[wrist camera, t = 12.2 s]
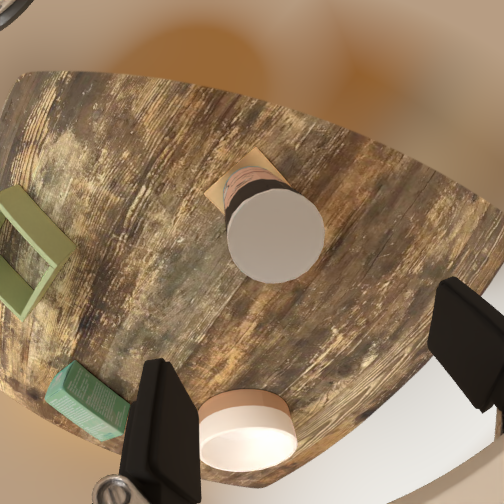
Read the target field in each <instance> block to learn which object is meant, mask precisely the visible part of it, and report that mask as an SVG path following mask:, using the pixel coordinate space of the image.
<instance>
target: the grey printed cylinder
mask: <svg viewBox="0 0 504 504" xmlns="http://www.w3.org/2000/svg"><path fill="white" fill-rule="evenodd" d="M223 203H224V213H225V222H226V232H227V241H228V248H229V251H230V254H231V257H232V259H233V261H234V263H235V264H236V265H237V266H238V268H239V269H240V270H241V272H243V273H244V274H246V275H247V276H249V277H250V278H252V279H254V280H257V281H261V282H265V283H283V282H286V281H289V280H292V279H296V278H297V277H299V276H300V275H302V274H303V273H305V272H306V271H308V270H309V269H310V267H311V266H312V265H313V264H314V263H315V262H316V260H317V259H318V257H319V255H320V253H321V250H322V248H323V245H324V237H325V229H324V224H323V219H322V217H321V215H320V213H319V212H318V210H317V208H316V207H315V205H314V204H312V203H311V202H310V201H309V200H308V199H306V198H305V197H304V196H303V195H301V194H300V193H299V192H297V191H296V190H295V189H293V188H292V187H290V186H289V185H288V184H286V183H285V182H284V181H282V180H281V179H279V178H278V177H277V176H275V175H274V174H272V173H271V172H270V171H268V170H267V169H264V168H261V167H258V166H248V167H244V168H241V169H239V170H237V171H236V172H234V173H233V174H232V175H231V176H230V177H229V179H228V180H227V181H226V184H225V187H224V189H223Z"/></svg>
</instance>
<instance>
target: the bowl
mask: <svg viewBox="0 0 504 504" xmlns="http://www.w3.org/2000/svg"><path fill="white" fill-rule="evenodd" d="M198 415H199V443H200V460H202V461H203V462H204V463H205V464H207V465H209V466H211V467H214V468H216V469H220V470H225V471H234V472H246V471H256V470H261V469H265V468H269V467H272V466H275V465H277V464H279V463H281V462H283V461H285V460H286V459H288V458H289V457H290V456H291V455H292V454H293V453H294V452H295V451H296V448H297V445H298V442H297V437H296V434H295V430H294V426H293V422H292V419H291V416H290V412H289V408H288V406H287V403H286V402H285V401H284V400H283V399H282V398H281V397H279V396H278V395H276V394H274V393H271V392H268V391H264V390H257V389H239V390H232V391H228V392H224V393H221V394H218V395H216V396H214V397H212V398H210V399H209V400H207V401H206V402H205V403H204V404H203V405H202V406H201V407H200V409H199V411H198Z"/></svg>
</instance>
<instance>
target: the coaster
mask: <svg viewBox="0 0 504 504" xmlns="http://www.w3.org/2000/svg"><path fill="white" fill-rule="evenodd" d="M248 166H258V167H261V168H264V169H267V170H268V171H270V172H271V173H272V174H274V175H275V176H277V177H278V178H279V179H281V180H282V181H284V182H285V183H286V184H288V185H289V186H290V184H289V183H288V182H287V181H286V180H285V179H284V177H283V176H282V175H281V174H280V173H279V172H278V170H277V169H276V168H275V167H274V166H273V165H272V164H271V162H270V161H269V160H268V159H267V158H266V157H265V156H264V155H263V153H262V152H261V151H260V150H259V149H258V148H257V147H256V146H255V147H254V148H253V149H252V150H251V151H250V152H248V153H247V154H246V155H245V156H244V157H243V158H242V159H240V160H239V161H238V162H237V163H236V164H235V165H234V166H233V167H232V168H230V169H229V170H228V171H227V172H226V173H225V174H224V175H223V176H222V177H221V178H219V179H218V180H217V181H216V182H215V183H214V184H213V185H212V186H211V187H210V188H209V189H208V190H207V191H206V192H204V195H205V196H206V197H207V198H208V199H209V200H210V201H211V202H212V203H213V204H214V205H215V206H216V207H217V208H218V209H219V210H220V211H221V212H222V213H223V214H224V215H225V213H224V203H223V189H224V187H225V184H226V181H227V180H228V179H229V177H230V176H231V175H232V174H233V173H234V172H236V171H237V170H239V169H241V168H244V167H248ZM290 187H291V186H290Z"/></svg>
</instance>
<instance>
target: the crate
mask: <svg viewBox="0 0 504 504" xmlns="http://www.w3.org/2000/svg"><path fill="white" fill-rule="evenodd" d="M6 218H7V219H8V220H9V221H10V222H11V224H12V225H13V226H14V227H15V228H16V229H17V230H18V232H19V233H20V234H21V235H22V236H23V237H24V238H25V239H26V240H27V242H28V243H29V244H30V245H31V246H32V247H33V248H34V249H35V250H36V251H37V252H38V253H39V254H40V255H41V256H42V257H43V258H44V259H45V260H46V261H47V262H48V263H49V264H50V266H49V268H48V269H47V271H46V272H45V274H44V276H43V277H42V279H41V281H40V282H39V284H38V286H37V287H36V289H35V291H34V290H33V289H32V288H31V287H30V286H29V285H28V284H27V283H26V282H25V281H24V280H23V279H22V278H21V277H20V275H19V274H18V273H17V272H16V271H15V270H14V269H13V268H12V267H11V266H10V265H9V264H8V263H7V261H6V260H5V259H4V258H3V257H2V256H1V255H0V300H1V301H2V302H3V303H4V304H5V305H6V306H7V307H8V308H9V309H10V310H11V311H12V312H13V313H14V314H15V315H16V316H17V317H18V318H19V319H20V320H21V321H22V322H24V320H25V319H26V318H27V317H28V315H29V314H30V313H31V312H32V310H33V309H34V308H35V307H36V306H37V304H38V303H39V302H40V301H41V299H42V298H43V296H44V294H45V293H46V291H47V290H48V288H49V287H50V285H51V283H52V282H53V280H54V279H55V277H56V276H57V274H58V273H59V272H60V270H61V269H62V267H63V266H64V264H65V263H66V261H67V260H68V259H69V257H70V256H71V254H72V253H73V252H74V250H75V249H76V247H77V246H76V245H75V244H74V243H73V242H72V241H71V240H70V239H69V238H68V237H67V236H66V235H65V234H64V233H63V232H62V231H61V230H60V229H59V228H58V227H57V226H56V225H55V224H54V223H53V222H52V221H51V219H50V218H49V217H48V216H47V215H46V214H45V213H44V212H43V211H42V210H41V209H40V208H39V206H38V205H37V204H36V203H35V202H34V201H33V200H32V199H31V198H30V196H29V195H28V194H27V193H26V192H25V191H24V189H23V188H22V187H21V186H20V185H19V184H18V185H15V186H12V187H10V188H7V189H5V190H2V191H0V229H1V227H2V225H3V223H4V221H5V219H6Z"/></svg>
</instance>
